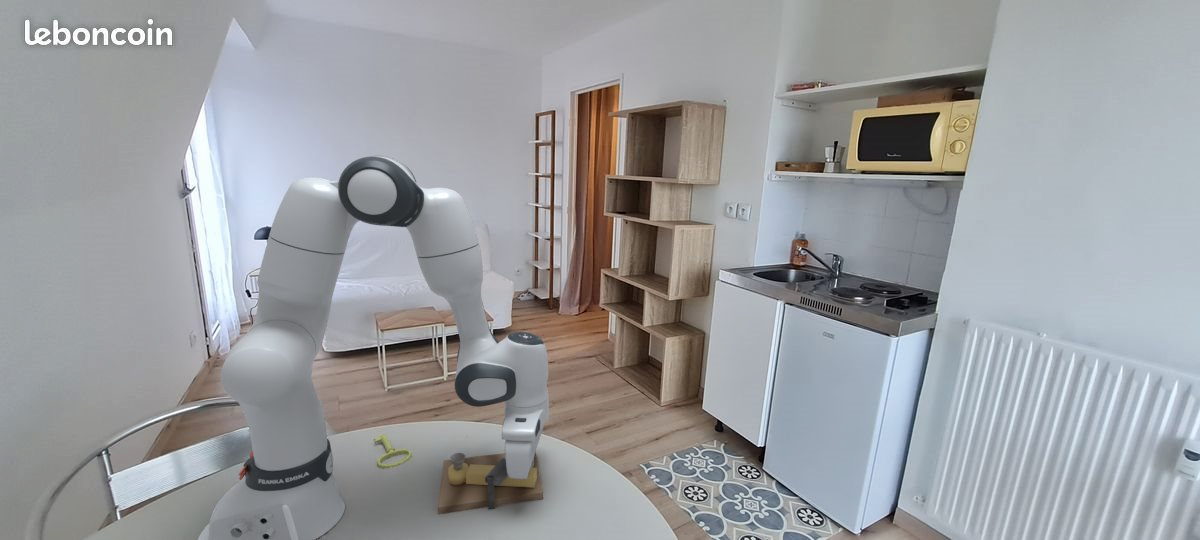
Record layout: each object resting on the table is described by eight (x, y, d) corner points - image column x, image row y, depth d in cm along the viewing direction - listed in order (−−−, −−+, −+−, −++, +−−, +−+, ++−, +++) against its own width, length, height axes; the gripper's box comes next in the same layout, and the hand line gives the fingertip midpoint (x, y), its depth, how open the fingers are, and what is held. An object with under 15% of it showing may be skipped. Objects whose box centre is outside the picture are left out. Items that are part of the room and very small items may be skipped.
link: (445, 484, 95) (445, 474, 95) (452, 472, 99) (452, 461, 99) (533, 489, 95) (533, 478, 94) (537, 476, 98) (537, 466, 98)
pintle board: (437, 519, 88) (435, 487, 87) (444, 466, 104) (442, 438, 103) (544, 503, 93) (543, 473, 92) (535, 455, 109) (535, 428, 107)
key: (384, 440, 114) (383, 432, 114) (416, 458, 108) (415, 449, 107) (355, 455, 108) (354, 446, 108) (387, 474, 102) (386, 466, 101)
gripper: (522, 386, 106) (524, 441, 109) (498, 437, 86) (501, 502, 89) (550, 387, 106) (551, 442, 109) (532, 438, 86) (534, 504, 89)
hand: (528, 469), depth 99 cm, fingers closed
